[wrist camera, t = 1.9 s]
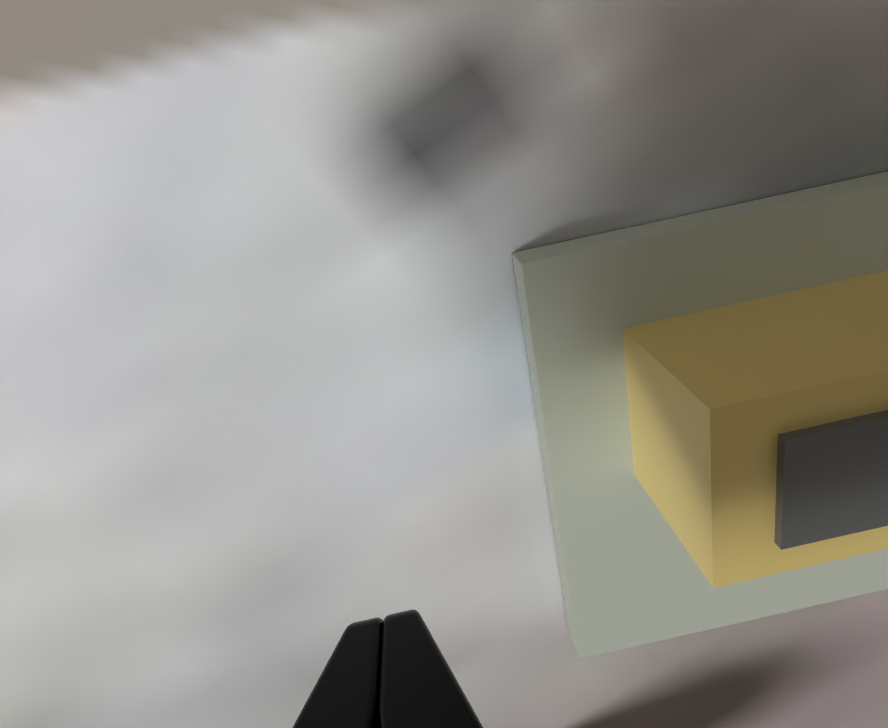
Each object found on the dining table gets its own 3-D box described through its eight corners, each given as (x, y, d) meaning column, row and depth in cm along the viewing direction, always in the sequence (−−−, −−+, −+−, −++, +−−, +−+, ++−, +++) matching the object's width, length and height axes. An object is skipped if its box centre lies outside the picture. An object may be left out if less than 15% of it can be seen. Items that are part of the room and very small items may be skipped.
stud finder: (905, 266, 11) (1106, 328, 8) (888, 416, 12) (1054, 520, 9) (622, 328, 10) (716, 415, 8) (634, 474, 12) (719, 596, 9)
